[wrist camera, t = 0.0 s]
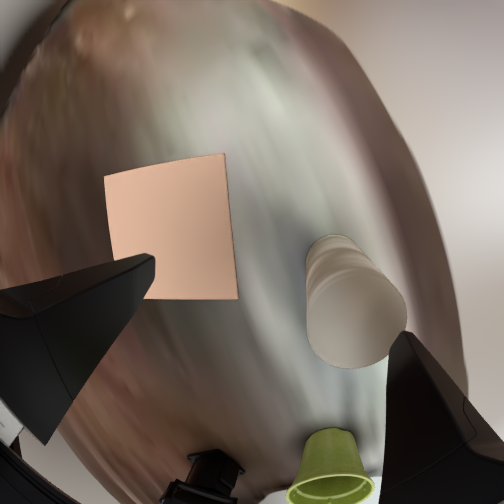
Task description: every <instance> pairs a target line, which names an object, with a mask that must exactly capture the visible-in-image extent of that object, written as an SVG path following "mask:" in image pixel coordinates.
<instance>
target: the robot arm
mask: <svg viewBox="0 0 504 504" xmlns="http://www.w3.org/2000/svg"><path fill="white" fill-rule="evenodd" d="M155 266H156V259H155V257H154V256H153V255H150V254H147V253H142V254H138V255H134V256H130V257H126V258H122V259H119V260H115V261H111V262H108V263H104V264H100V265H96V266H93V267H89V268H86V269H82V270H78V271H75V272H71V273H68V274H64V275H63V276H62V275H60V276H57V277H53V278H50V279H46V280H42V281H38V282H34V283H29V284H25V285H20V286H15V287H11V288H6V289H1V290H0V504H81V503H79V502H77V501H76V500H75V499H73V498H71V497H70V496H69V495H67V494H66V493H64V492H63V491H61V490H60V489H59V488H57V487H56V486H55V485H53V484H52V483H51V482H49V481H48V480H47V479H45V478H44V477H43V476H41V475H40V474H39V473H38V472H37V471H36V470H34V469H33V468H32V467H31V466H30V465H29V464H27V463H26V462H25V461H24V460H23V459H22V455H21V450H20V444H19V436H18V435H19V434H20V432H21V431H22V430H23V428H24V429H25V430H26V431H27V432H29V433H30V434H31V435H32V436H33V437H35V439H37V440H38V441H39V442H40V443H42V444H43V445H44V446H45V445H46V444H47V443H48V441H49V440H50V438H51V436H52V434H53V433H54V431H55V430H56V428H57V426H58V425H59V423H60V422H61V420H62V418H63V417H64V415H65V414H66V412H67V410H68V409H69V407H70V406H71V404H72V403H73V400H74V399H75V398H76V396H77V395H78V393H79V392H80V390H81V389H82V387H83V386H84V384H85V383H86V381H87V380H88V378H89V377H90V375H91V374H92V372H93V371H94V369H95V368H96V367H97V365H98V364H99V362H100V361H101V359H102V358H103V356H104V355H105V354H106V352H107V351H108V349H109V348H110V347H111V345H112V344H113V342H114V341H115V340H116V338H117V337H118V335H119V334H120V333H121V331H122V330H123V329H124V327H125V326H126V324H127V323H128V322H129V320H130V319H131V318H132V316H133V315H134V313H135V312H136V310H137V309H138V307H139V305H140V304H141V302H142V300H143V298H144V297H145V295H146V293H147V292H148V290H149V288H150V287H151V285H152V283H153V282H154V279H155ZM187 459H188V460H189V461H190V462H191V463H192V464H193V465H192V468H191V470H190V472H189V474H188V476H187V479H186V481H185V482H182V481H180V480H179V479H176V480H175V481H174V482H170V484H169V486H168V488H167V490H166V491H165V493H164V494H163V495H162V497H161V498H160V500H159V503H160V504H237V500H238V498H235V497H234V498H233V497H230V495H231V491H232V489H234V487H235V483H236V480H237V476H239V475H244V474H245V471H244V470H243V469H242V468H240V467H239V466H238V465H237V464H236V463H234V462H233V461H232V460H231V459H230V458H228V457H227V456H226V455H225V454H224V453H223V452H221V451H220V450H212V451H208V452H203V453H198V454H193V455H188V456H187ZM379 504H504V442H503V441H502V440H501V439H500V437H499V436H498V435H497V434H496V433H495V431H494V430H493V429H492V428H491V427H490V425H489V424H488V423H487V422H486V421H485V420H484V418H483V417H482V416H481V415H480V414H479V413H478V411H477V410H476V409H475V408H474V406H473V405H472V404H471V403H470V401H469V400H468V399H467V397H466V396H464V394H463V392H462V391H461V390H460V389H459V387H458V386H457V385H456V384H455V382H454V381H453V380H452V379H451V377H450V376H449V375H448V374H447V373H446V371H445V370H444V369H443V368H442V366H441V365H440V364H439V363H438V362H437V361H436V359H435V358H434V357H433V356H432V355H431V353H430V352H429V351H428V350H427V349H426V348H425V346H424V345H423V344H422V343H421V342H420V341H419V340H418V338H417V337H416V336H415V335H414V334H413V333H412V332H408V331H401V332H400V333H399V335H398V336H397V338H396V339H395V341H394V342H393V344H392V345H391V347H390V350H389V359H388V373H387V385H386V433H385V450H384V463H383V474H382V483H381V491H380V497H379Z"/></svg>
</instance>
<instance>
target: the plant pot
mask: <svg viewBox="0 0 504 504" xmlns="http://www.w3.org/2000/svg"><path fill="white" fill-rule="evenodd" d="M374 488H375V485H374V482H373V481H372V479H371V478H369V477H368V474H367V473H366V471H365V470H364V468H363V465H362V462H361V458H360V455H359V452H358V449H357V446H356V443H355V440H354V437H353V435H352V434H351V433H350V432H349V431H343V430H340V429H338V428H328V429H323V430H320V431H317V432H315V433H314V434H312V435H311V437H310V438H309V439H308V440H307V441H306V444H305V448H304V452H303V456H302V460H301V463H300V467H299V470H298V474H297V477H296V479H295V480H294V482H293V484H292V486H290V487H289V489H288V490H287V492H286V500H287V501H288V502H289V503H290V504H358V503H360V502H362V501H364V500H365V499H367V498H368V497H369V496H370V495H371V494H372V492H373V491H374Z"/></svg>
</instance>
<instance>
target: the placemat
mask: <svg viewBox="0 0 504 504" xmlns="http://www.w3.org/2000/svg"><path fill="white" fill-rule="evenodd" d="M104 182H105V194H106V204H107V213H108V221H109V229H110V236H111V243H112V249H113V255H114V261H115V260H119V259H122V258H126V257H130V256H134V255H138V254H142V253H147V254H150V255H153V256H154V257H155V259H156V266H155V279H154V282H153V283H152V285H151V287H150V288H149V290H148V292H147V293H146V295H145V297H144V298H143V299H238V298H239V296H238V287H237V278H236V269H235V259H234V249H233V239H232V229H231V219H230V209H229V198H228V188H227V177H226V165H225V154H224V153H221V154H214V155H208V156H201V157H195V158H189V159H183V160H178V161H172V162H167V163H162V164H157V165H152V166H147V167H142V168H138V169H133V170H129V171H125V172H120V173H116V174H112V175H108V176H104Z"/></svg>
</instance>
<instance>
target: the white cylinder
mask: <svg viewBox="0 0 504 504" xmlns="http://www.w3.org/2000/svg"><path fill="white" fill-rule="evenodd" d="M306 302H307V336H308V340H309V343H310V345H311V347H312V349H313V351H314V352H315V353H316V354H317V356H319V357H320V358H321V359H322V360H323V361H325V362H326V363H328V364H330V365H333V366H335V367H339V368H345V369H357V368H363V367H367V366H370V365H372V364H375V363H377V362H379V361H380V360H382V359H383V358H385V357H386V356H387V355H388V354H389V350H390V347H391V345H392V344H393V342H394V341H395V339H396V338H397V336H398V335H399V333H400V332H401V331H405V328H406V323H407V309H406V304H405V302H404V299H403V297H402V295H401V294H400V292H399V291H398V290H397V289H396V288H395V286H394V285H393V284H392V283H391V282H390V281H389V280H388V279H387V277H386V276H385V275H384V274H383V273H382V272H381V271H380V270H379V269H378V268H377V266H376V265H375V264H374V263H373V262H372V261H371V260H370V259H369V258H368V257H367V256H366V255H365V254H364V252H363V251H362V250H361V249H360V248H359V247H358V246H357V245H356V244H355V243H354V242H353V241H352V240H350V239H349V238H347V237H345V236H341V235H328V236H325V237H322V238H320V239H319V240H317V241H316V242H315V243H314V244H313V245H312V246H311V248H310V249H309V251H308V253H307V257H306Z"/></svg>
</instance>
